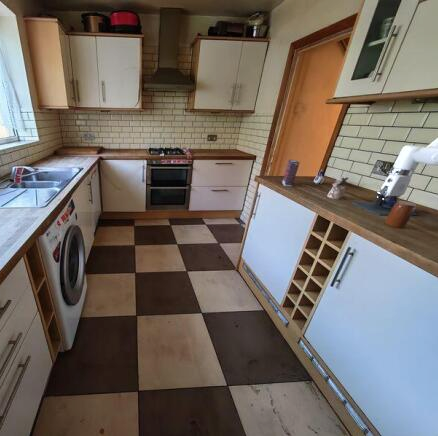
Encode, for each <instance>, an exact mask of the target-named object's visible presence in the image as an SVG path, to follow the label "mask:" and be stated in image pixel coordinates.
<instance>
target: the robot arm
mask: <svg viewBox="0 0 438 436" xmlns="http://www.w3.org/2000/svg"><path fill="white" fill-rule="evenodd" d="M419 164H423V165H424V164H425V165H428V166H438V137H437V138H435V139H434V140H433V141H432V142H430V143H429V144H428V145H427V146H423V145H413V144H407V145H405V146H403V147H402V148H401V150H400V152H399V154H398V156H397V158H396V160H395V161H394V164H393V166H392V168H391V169H390V171H389V174H388V176H387V177H386V179H385V181H384V182H383V183H382V185H381V188H380V189H379V190H378V191H377V199H376V201H375V202H376V203H375V205H374V206H376V207H379V208H382V207H383V205H384V203H385V199H386V198H388V199H392V200H395V201H396V202H397V201H399V198H400V197H401V196H404V195H405V193H406V192H407V189H408V187H409V185H410V182H411V179H412V177H413V174H414V173H415V171H416V169H417V167H418V165H419ZM387 206H390V207H393V206H394V205H392V206H391V205H387Z"/></svg>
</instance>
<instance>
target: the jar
mask: <svg viewBox="0 0 438 436" xmlns="http://www.w3.org/2000/svg"><path fill="white" fill-rule="evenodd" d="M416 206H417V204H416V203H413V202H411V201H405V200H397V201H396V203H395V204H394V206H393V208H392V210H391V211H390V213H389V215H387V217H386V219H385V221H384V224H385V225H386V226H390V227H393V228H396V229H405V228H406V226H407V224H409V223H408V222H409V221H410V220H411V218H412V217H413V216H412V214H413V213H415V211H416Z"/></svg>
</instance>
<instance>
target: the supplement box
mask: <svg viewBox="0 0 438 436" xmlns="http://www.w3.org/2000/svg"><path fill="white" fill-rule="evenodd" d="M299 166H300V161H298V160H297V159H288V162H287V165H286V168H285V171H284V175H283V179H282V181H281V183H282V184H283V186H284V187H290V188H291V187H293V185H294V180H295V179H296V175H297V173H298V170H299Z"/></svg>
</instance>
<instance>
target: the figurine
mask: <svg viewBox="0 0 438 436" xmlns="http://www.w3.org/2000/svg"><path fill="white" fill-rule="evenodd" d="M348 180H349V177H343V176H341V177H338V178H336V180H335V181H334V183H332V187H331V189H330V190H329V192H328V193H327V197H328V198H330V199H333V200H342V199H343V198H344V197H345V193H346V192H345V191H346V186H347V184H348V182H347V181H348Z"/></svg>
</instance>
